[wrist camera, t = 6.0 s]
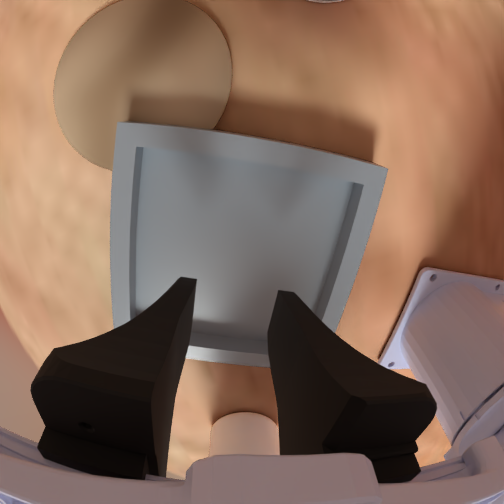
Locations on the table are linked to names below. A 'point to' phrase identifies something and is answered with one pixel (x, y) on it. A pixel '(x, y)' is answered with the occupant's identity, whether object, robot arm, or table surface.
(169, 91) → the cork coaster
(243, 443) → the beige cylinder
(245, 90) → the table surface
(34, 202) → the table surface
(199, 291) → the tray
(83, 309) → the table surface
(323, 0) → the supplement bottle
